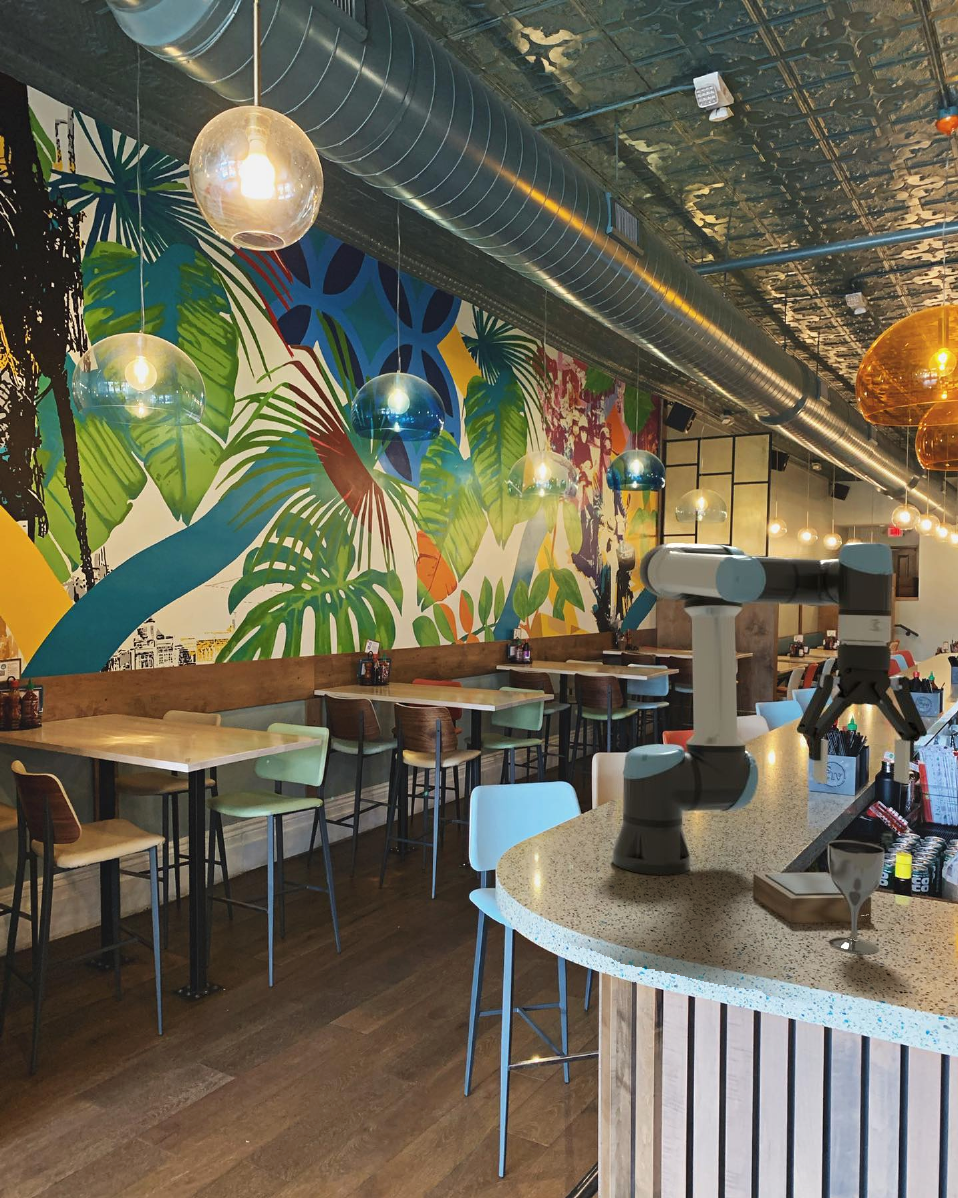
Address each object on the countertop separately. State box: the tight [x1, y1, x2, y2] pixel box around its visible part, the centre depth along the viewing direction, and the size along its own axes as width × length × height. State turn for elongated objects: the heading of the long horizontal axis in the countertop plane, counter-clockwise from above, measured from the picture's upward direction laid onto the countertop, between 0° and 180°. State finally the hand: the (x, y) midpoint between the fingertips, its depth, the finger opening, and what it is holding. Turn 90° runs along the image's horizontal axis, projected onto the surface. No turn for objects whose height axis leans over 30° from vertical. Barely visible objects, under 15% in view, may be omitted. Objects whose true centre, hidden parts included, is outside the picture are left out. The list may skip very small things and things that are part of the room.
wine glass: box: [827, 839, 885, 955], centre depth 136 cm, size 8×8×15 cm
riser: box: [752, 871, 872, 924], centre depth 153 cm, size 14×14×4 cm
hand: (860, 782), depth 137 cm, fingers open, 13 cm apart
